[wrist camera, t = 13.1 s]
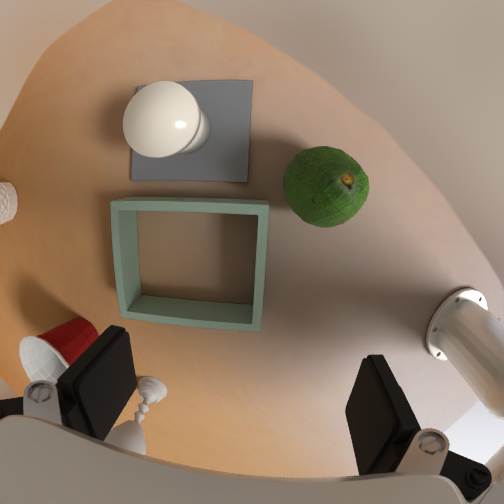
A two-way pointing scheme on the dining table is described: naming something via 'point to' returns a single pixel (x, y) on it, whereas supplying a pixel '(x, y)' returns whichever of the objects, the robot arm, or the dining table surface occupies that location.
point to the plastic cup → (55, 349)
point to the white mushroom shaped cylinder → (165, 121)
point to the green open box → (172, 308)
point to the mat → (220, 139)
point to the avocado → (325, 186)
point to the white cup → (7, 202)
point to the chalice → (137, 418)
